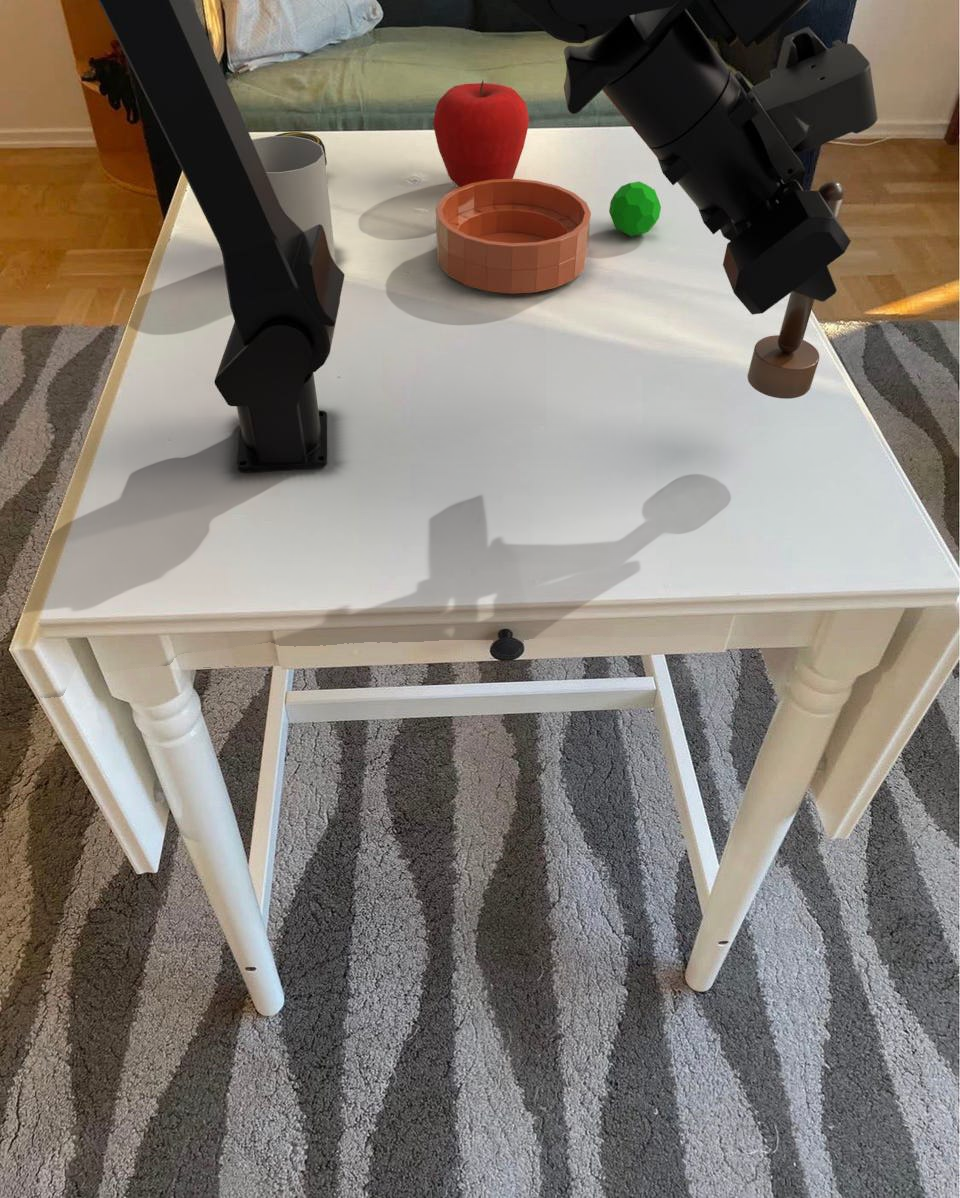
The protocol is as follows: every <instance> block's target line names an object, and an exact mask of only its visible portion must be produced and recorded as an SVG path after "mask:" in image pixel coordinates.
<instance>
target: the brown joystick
mask: <svg viewBox="0 0 960 1198" xmlns="http://www.w3.org/2000/svg"><path fill="white" fill-rule="evenodd" d="M817 191H819V193H820V194H821V196H822V197H823V199H824V200H825V202H826V203H827V205H828V206H829V208H830V209H831V211H832V212H833V214H834V215H835V217H836V218H837V219H838V220H839V216H840V213H841V209H842V207H843V203H844V199H845V195H846V194H845V193H846V192H845V187H844V186H843V185H842V184H841V182H839V181H836V180H829V181H825V182H824V183H823V184H822V185H820V187H819V188H818V190H817ZM814 303H815V299H813V298H810V297H807V296H804V295H802V294H799V293H796V292H793V291H792V292H791V293H789V297H788V301H787V305H786V309H785V312H784V316H783V320H782V323H781V327H780V331H779V334H778V335H777V334H775V335H769V336H765V337H762V338H761V339H759V340H758V341H757V342H756V343H755V345H754V347H753V352H752V356H751V360H750V364H749V368H748V372H747V381H748V383H749V385H750V386H751V387H752V388H753V389H754V390H756V391H757V392H759V393H761V394H762V395H765V396H767V397H771V398H776V399H783V400H785V399H786V400H789V399H798V398H800V397H803V396H804V395H806V394H807V393H808V392H809V391H810V390H811V388H812V385H813V380H814V378H815V375H816V371H817V368H818V364H819V361H820V353H819V350H818V349H817V348H816V346H814V345H813V344H811V343H810V342H808V341H807V340H804V338H805V334H806V331H807V327H808V323H809V320H810V317H811V313H812V310H813V307H814Z"/></svg>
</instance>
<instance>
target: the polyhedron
mask: <svg viewBox="0 0 960 1198" xmlns="http://www.w3.org/2000/svg"><path fill="white" fill-rule="evenodd" d="M661 209H662V206H661V202H660V200H659V196H658V194H657V192H656V190H655V189H654V188H652V187H651V186H649V185H648V184H646V183H644V182H642V181H633V182H629V183H626V184H623V185H621V186H620V187H619V188H618V190H617V191H616V192H615V193H614V194H613V196H612V198H611V200H610V203H609V209H608V212H609V216H610V218H611V220H612V223H613V226H614V228H615V229H616V230H618V231H619V232H621V233H623V234H624V235H627V236H629V237H636V236H641V235H643V234H646V233H649V232H650V231H651V229H652V228H653V227H654V226H655V225H656V224H657V222H658V220H659V219H660V214H661Z"/></svg>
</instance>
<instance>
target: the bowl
mask: <svg viewBox="0 0 960 1198" xmlns="http://www.w3.org/2000/svg"><path fill="white" fill-rule="evenodd" d="M591 218H592V212H591V209H590V207H589V205H588V202H586V201H585V200H584V199H583V198H581V197H580V196H579V195H578V194H576V193H575V192H574V191H571V190H568V189H566V188H564V187H562V186H559V185H556V184H552V183H548V182H543V181H541V180H539V181H538V180H532V179H522V178H513V179H495V180H487V181H481V182H475V183H470V184H468V185H465V186H462V187H457V188H454V189H452V190H450V191H449V192H448V193H446V195H443V196H442V197H441V199H440V200H439V202H438V204H437V206H436V207H435V225H436V226H435V228H436V256H437V257H436V258H437V263H438V266H439V267H440V269H442V270H443V271H444V273H445V274H446V275H447V276H449V277H450V278H451V279H453V280H455V281H457V282H459V283H461V284H462V285H464V286H468V287H470V288H475V289H479V290H480V291H481V290H482V291H485V292H492V293H501V294H531V293H538V292H543V291H548V290H552V289H555V288H559V287H561V286H563V285H565V284H567V283H569V282H572V281H574V280H575V279H576V278H577V277H578V276H579V275H580V274H581V273H582V272H583V271H584V270H585V267H586V263H587V259H588V250H589V249H588V248H589V239H590V228H591V221H592V219H591Z"/></svg>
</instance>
